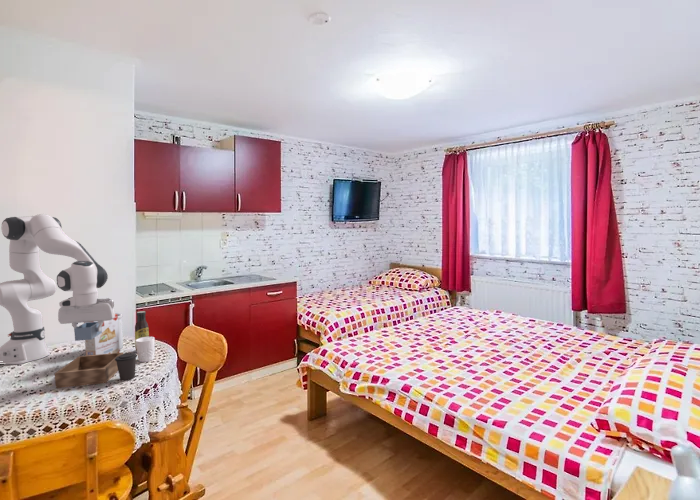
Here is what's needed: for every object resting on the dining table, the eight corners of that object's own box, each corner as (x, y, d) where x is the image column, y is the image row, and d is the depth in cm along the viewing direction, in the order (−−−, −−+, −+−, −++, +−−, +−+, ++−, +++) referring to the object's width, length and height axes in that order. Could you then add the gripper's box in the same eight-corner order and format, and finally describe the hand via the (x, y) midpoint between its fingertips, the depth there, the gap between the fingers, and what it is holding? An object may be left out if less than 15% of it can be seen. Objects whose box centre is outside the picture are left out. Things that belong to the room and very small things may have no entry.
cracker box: (97, 366, 175) (93, 321, 174) (86, 365, 177) (82, 320, 175) (121, 355, 189) (117, 313, 187) (110, 354, 190) (107, 313, 189)
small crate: (75, 340, 157) (74, 328, 157) (86, 333, 167) (85, 322, 166) (91, 339, 158) (90, 327, 158) (101, 332, 168) (100, 321, 168)
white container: (103, 344, 207) (101, 312, 206) (130, 344, 206) (128, 312, 205) (83, 354, 192) (80, 319, 191) (112, 353, 192) (109, 319, 190)
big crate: (55, 388, 152) (54, 373, 152) (79, 369, 172) (78, 356, 171) (106, 383, 156) (104, 368, 156) (124, 365, 176) (123, 352, 175)
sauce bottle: (139, 353, 191) (137, 314, 190) (133, 351, 194) (130, 312, 193) (152, 349, 197) (150, 311, 195) (145, 347, 200) (143, 310, 198)
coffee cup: (142, 373, 165) (140, 351, 164) (132, 381, 156) (130, 357, 156) (123, 374, 164) (121, 351, 164) (112, 382, 156) (110, 358, 155)
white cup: (134, 360, 182) (133, 339, 181) (152, 355, 188) (150, 335, 187) (140, 364, 176) (139, 342, 176) (158, 359, 182) (157, 338, 181)
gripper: (116, 296, 167) (118, 327, 168) (62, 300, 162) (65, 332, 163) (110, 299, 160) (112, 332, 161) (54, 303, 156) (57, 336, 157)
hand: (88, 332), depth 162 cm, fingers closed on small crate, 6 cm apart
